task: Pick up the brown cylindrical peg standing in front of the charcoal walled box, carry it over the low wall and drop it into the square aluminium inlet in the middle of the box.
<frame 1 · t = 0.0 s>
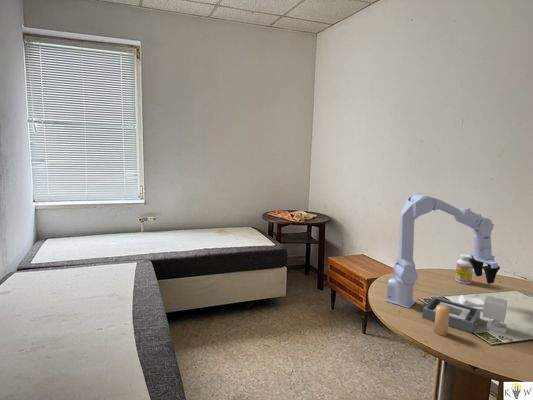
hand: (484, 279, 137), 11 cm above the table, tool pointing down, fingers open, 7 cm apart
brown cylindrical peg: (440, 332, 116), on the table
light switch: (470, 306, 139), on the table
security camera: (494, 327, 121), on the table
supplement bottle: (462, 282, 163), on the table
walled box: (451, 318, 127), on the table
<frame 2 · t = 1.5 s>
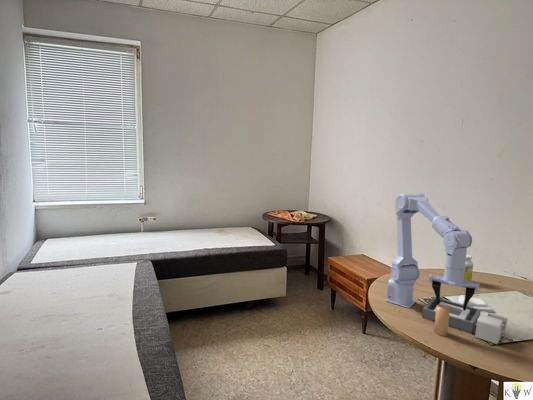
hand: (451, 306, 115), 9 cm above the table, tool pointing down, fingers open, 7 cm apart
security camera: (494, 321, 118), point 3 cm above the table
everything else where it was.
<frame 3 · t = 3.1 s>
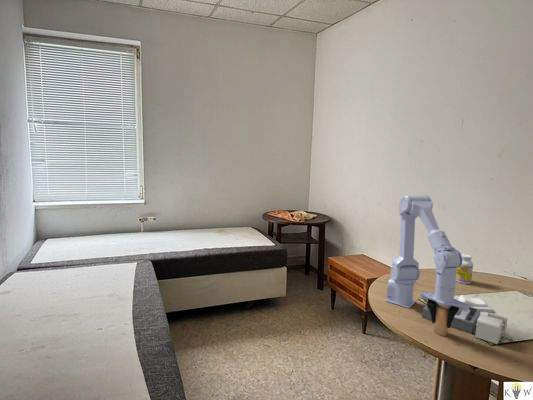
hand: (441, 324, 116), 3 cm above the table, tool pointing down, fingers closed on brown cylindrical peg, 4 cm apart
brown cylindrical peg: (440, 332, 116), on the table, touching gripper
everything else where it was.
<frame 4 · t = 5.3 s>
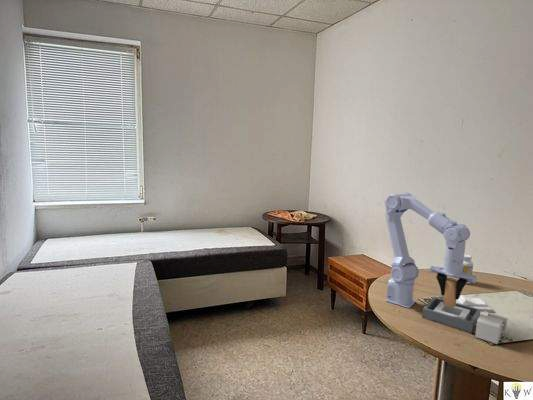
hand: (450, 296, 122), 10 cm above the table, tool pointing down, fingers closed on brown cylindrical peg, 4 cm apart
brown cylindrical peg: (449, 304, 122), point 7 cm above the table, touching gripper
everything else where it was.
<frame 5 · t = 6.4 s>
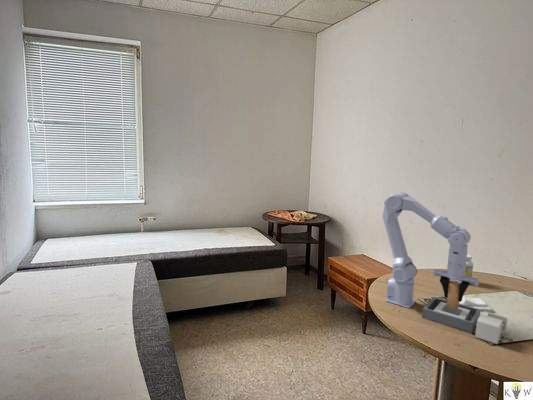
hand: (453, 298, 126), 7 cm above the table, tool pointing down, fingers closed on brown cylindrical peg, 4 cm apart
brown cylindrical peg: (452, 306, 126), point 4 cm above the table, touching gripper
everything else where it was.
when the fingers open (4 cm above the table, at t = 7.5 s): brown cylindrical peg stays where it is, resting on walled box.
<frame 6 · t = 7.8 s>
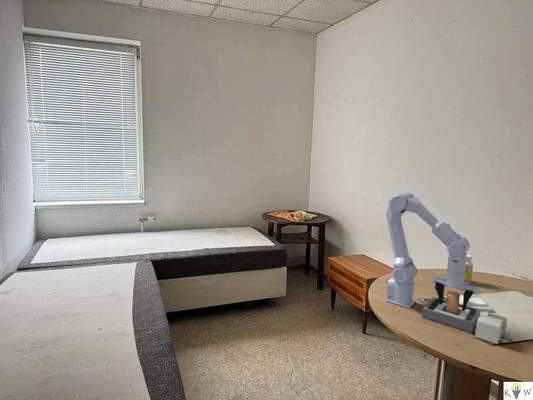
hand: (452, 306, 126), 4 cm above the table, tool pointing down, fingers open, 7 cm apart
brown cylindrical peg: (451, 316, 127), point 1 cm above the table, touching walled box
everything else where it was.
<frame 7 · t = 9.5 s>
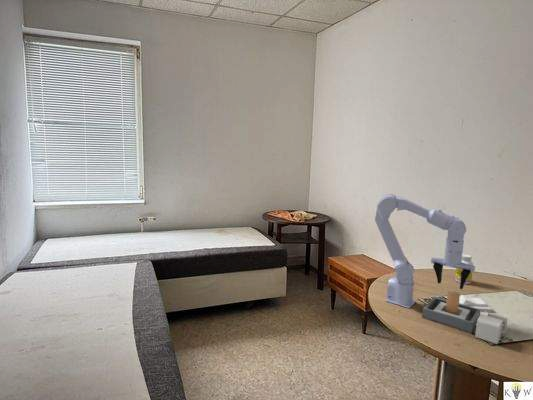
hand: (450, 285, 131), 10 cm above the table, tool pointing down, fingers open, 7 cm apart
nothing on the table moved.
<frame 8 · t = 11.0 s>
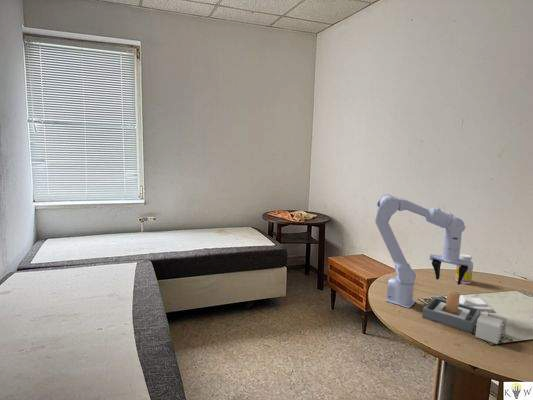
hand: (448, 281, 135), 10 cm above the table, tool pointing down, fingers open, 7 cm apart
nothing on the table moved.
at the end: brown cylindrical peg 0.0 cm off-centre on the walled box, point 0.5 cm above the walled box's base; brown cylindrical peg tilted 0°; the gripper is holding nothing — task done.
